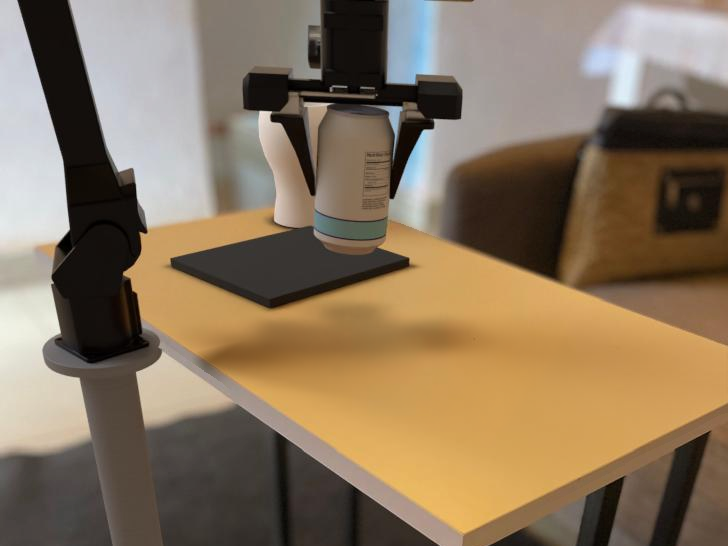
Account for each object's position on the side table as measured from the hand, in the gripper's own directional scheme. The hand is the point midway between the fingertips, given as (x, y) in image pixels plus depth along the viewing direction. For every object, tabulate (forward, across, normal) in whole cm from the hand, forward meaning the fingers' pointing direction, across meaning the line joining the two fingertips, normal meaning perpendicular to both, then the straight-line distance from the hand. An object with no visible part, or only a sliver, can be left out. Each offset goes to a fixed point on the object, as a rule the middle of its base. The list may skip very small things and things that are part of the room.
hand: (352, 196), depth 78 cm
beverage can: (+5, 0, 0) cm, 5 cm away
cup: (+13, +8, -38) cm, 41 cm away
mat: (+13, +8, -19) cm, 24 cm away
